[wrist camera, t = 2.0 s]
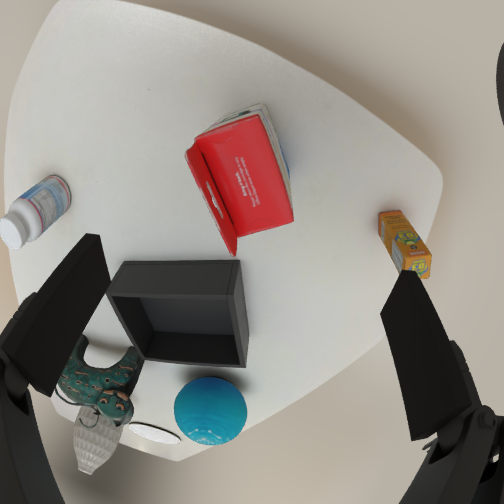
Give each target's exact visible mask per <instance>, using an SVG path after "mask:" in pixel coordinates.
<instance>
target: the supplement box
mask: <svg viewBox="0 0 504 504" xmlns="http://www.w3.org/2000/svg"><path fill="white" fill-rule="evenodd" d="M379 236H380V238H381V239H382V241H383V243H384V245H385V247H386V249H387V251H388V252H389V254H390V256H391V258H392V260H393V262H394V264H395V266H396V268H397V270H398V273H399V275H400V273H401V270H402V269H403V270H412V271H416V272H417V274H418V276H419V278H420V279H427V278H429V276H430V265H431V258H432V254H431V253H430V251H429V250H428V248H427V247H426V245H425V244H424V243H423V241H422V240H421V238H420V237H419V235H418V234H417V232H416V231H415V230H414V228H413V227H412V225H411V224H410V223H409V221H408V220H407V219H406V217H405V216H404V215H403V213H402V212H401V211H392V212H384V213H379Z"/></svg>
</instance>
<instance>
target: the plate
mask: <svg viewBox="0 0 504 504" xmlns="http://www.w3.org/2000/svg"><path fill="white" fill-rule="evenodd" d="M129 428H130V429H131V430H132V431H133V432H135V433H136V434H138V435H140V436H142V437H145V438H147V439H150V440H153V441H156V442H161V443H166V444H178V443H180V439H179V438H178V437H177V436H175V435H173V434H171V433H169V432H167V431H164V430H162V429H159V428H156V427H152V426H148V425H144V424H138V423H132V424H129Z"/></svg>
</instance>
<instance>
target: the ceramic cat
mask: <svg viewBox="0 0 504 504" xmlns="http://www.w3.org/2000/svg"><path fill="white" fill-rule="evenodd" d="M88 344H89V343H88V341H87V338H86V337H85V336H84V335H83V334H82V335H81V336H80V338H79V340H78V342H77V344H76V346H75V348H74V350H73V352H72V354H71V356H70V358H69V360H68V362H67V364H66V366H65V368H64V370H63V372H62V374H61V376H60V378H59V380H58V385H59V387H60V388H61V390H62V391H63V392H64V393H65V395H66V396H67V397H68V398H70V399H71V400H72V401H74V402H76V403H71V402H68V401H67V400H65V399H64V398H62V397H61V396H60V395H59V393H58V391H57V389H56V387H55V392H56V394H57V395H58V396H59V397H60V399H62V400H63V401H65V402H66V403H68V404H71V405H76V406H85V407H88V408H92V409H94V410H95V411H96V412H94V413H93V414H95V415H98V417H97V422H98V420H99V416H103V417H104V418H105V419H106V420H108V421H109V422H111V423H112V424H115V426H116V427H119V426H120V425H125V424H127V423H129V422H130V420H131V418H132V416H133V414H134V407H133V404H132V402H131V399H130V398H129V397H130V395H131V394H132V392H133V390H134V388H135V386H136V384H137V381H138V378H139V375H140V372H141V370H142V367H143V363H144V360H142V359H141V357H140V356H139V354H138V352H137V351H136V349H135V347H130V348H129V350H128V351H127V353H126V354H125V356H124V357H123V358H122V359H121V360H120V361H119V362H117V363H116V364H115V365H113V366H111V367H110V368H95V367H91V366H89V365H87V364H86V362H85V361H84V358H83V357H84V354H85V350H86V348H87V346H88ZM96 409H97V410H96ZM79 421H80V423H81V424H82V425H83V426H85V427H87V428H93V427H95V426H96V425H97V422H96V423H95V424H94V425H93V426H86V425H84V424H83V423H82V421H81V418H79Z"/></svg>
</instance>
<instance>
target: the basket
mask: <svg viewBox="0 0 504 504" xmlns="http://www.w3.org/2000/svg"><path fill="white" fill-rule="evenodd" d="M105 293H106V295H107V297H108V299H109V301H110V303H111V305H112V307H113V309H114V311H115V313H116V315H117V317H118V319H119V321H120V322H121V324H122V326H123V328H124V330H125V332H126V333H127V335H128V337H129V339H130V340H131V342H132V344H133V346H134V347H135V349H136V351H137V352H138V354H139V356H140V357H141V359H142V360H149V361H157V362H166V363H176V364H186V365H199V366H214V367H234V368H246V362H247V352H248V343H249V328H248V321H247V313H246V305H245V297H244V290H243V282H242V274H241V266H240V260H201V261H124V262H123V263H122V265H121V266H120V268H119V270H118V271H117V273H116V274H115V276H114V277H113V279H112V281H111V284H110V286H109V287H108V289H107V291H106V292H105Z"/></svg>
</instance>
